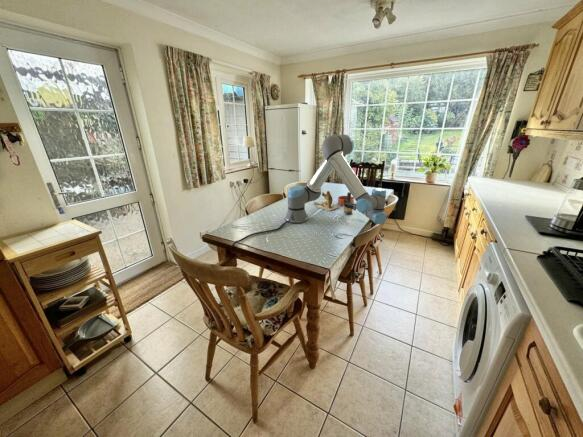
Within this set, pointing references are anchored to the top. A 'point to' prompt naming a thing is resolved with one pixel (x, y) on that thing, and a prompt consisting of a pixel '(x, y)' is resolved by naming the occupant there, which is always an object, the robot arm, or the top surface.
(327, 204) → the wooden toy
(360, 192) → the robot arm
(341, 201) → the bowl
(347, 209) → the dish brush
